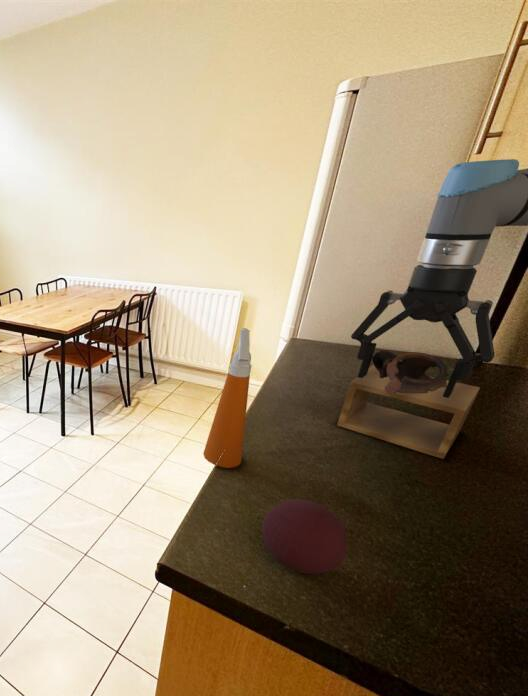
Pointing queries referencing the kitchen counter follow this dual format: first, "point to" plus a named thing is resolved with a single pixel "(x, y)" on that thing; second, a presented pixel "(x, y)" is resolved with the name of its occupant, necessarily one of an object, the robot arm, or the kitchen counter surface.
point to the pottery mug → (409, 372)
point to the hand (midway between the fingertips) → (402, 385)
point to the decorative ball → (305, 536)
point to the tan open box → (406, 414)
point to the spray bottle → (231, 410)
